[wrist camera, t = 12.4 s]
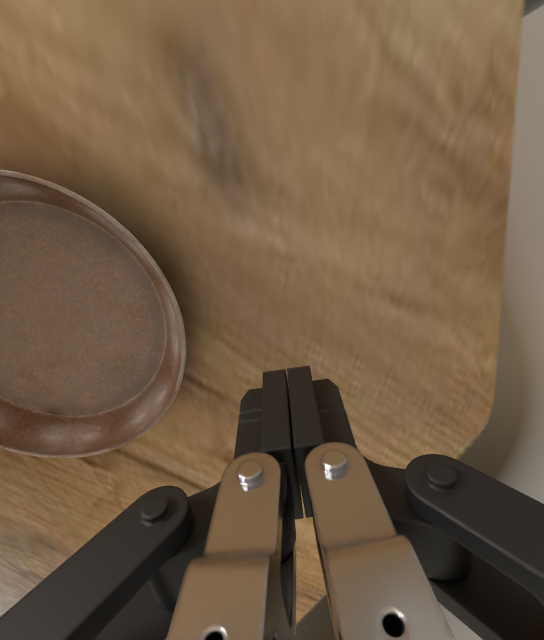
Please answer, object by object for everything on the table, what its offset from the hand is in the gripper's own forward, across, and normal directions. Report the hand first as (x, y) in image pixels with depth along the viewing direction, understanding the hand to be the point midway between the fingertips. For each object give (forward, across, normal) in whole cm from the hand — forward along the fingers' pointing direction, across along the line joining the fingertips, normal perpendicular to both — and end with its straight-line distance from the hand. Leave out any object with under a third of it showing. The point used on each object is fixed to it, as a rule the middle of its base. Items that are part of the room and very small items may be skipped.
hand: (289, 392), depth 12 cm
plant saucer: (+12, +14, 0) cm, 19 cm away
